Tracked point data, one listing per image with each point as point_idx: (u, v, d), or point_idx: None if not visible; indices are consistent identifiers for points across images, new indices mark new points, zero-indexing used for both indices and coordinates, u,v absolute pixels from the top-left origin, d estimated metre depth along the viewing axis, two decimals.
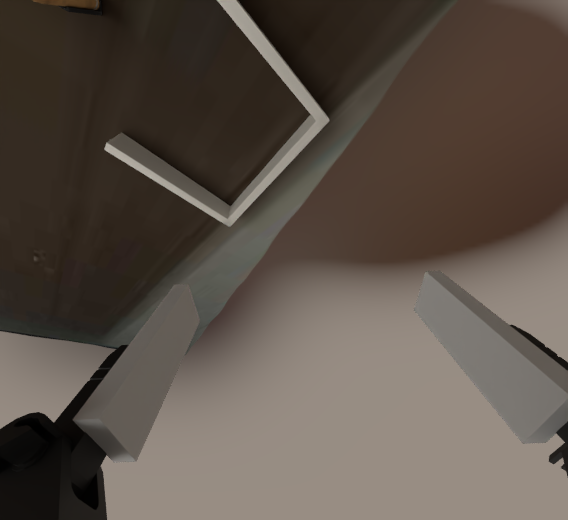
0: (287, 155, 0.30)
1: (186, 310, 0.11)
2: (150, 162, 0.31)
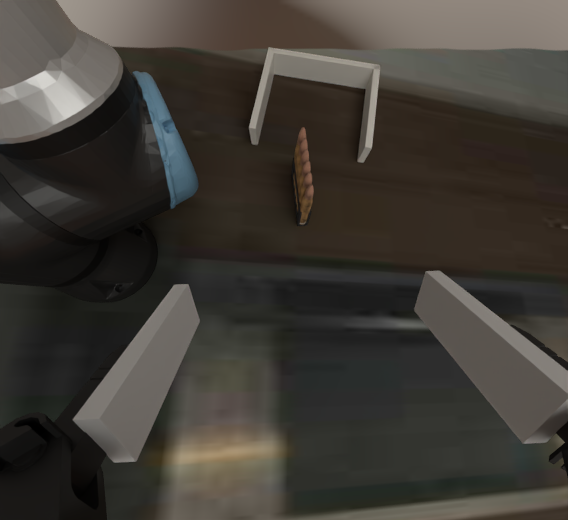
0: (300, 56, 0.42)
1: (186, 310, 0.11)
2: (364, 132, 0.41)
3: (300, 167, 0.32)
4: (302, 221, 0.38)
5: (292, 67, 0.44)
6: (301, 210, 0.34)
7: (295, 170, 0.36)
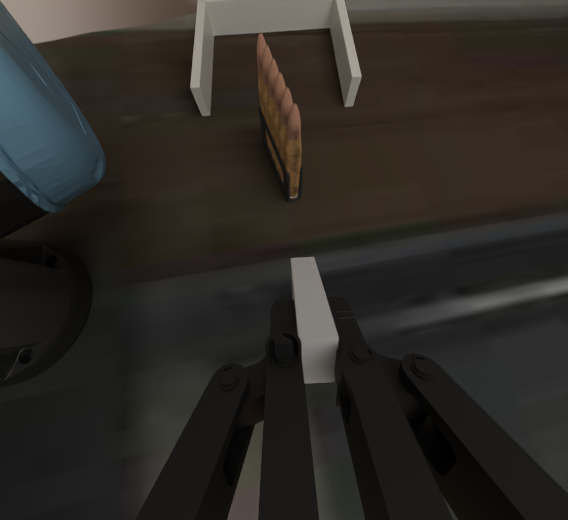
0: None
1: None
2: (344, 66, 0.31)
3: (271, 102, 0.21)
4: (293, 192, 0.26)
5: (234, 19, 0.35)
6: (288, 169, 0.22)
7: (265, 121, 0.25)
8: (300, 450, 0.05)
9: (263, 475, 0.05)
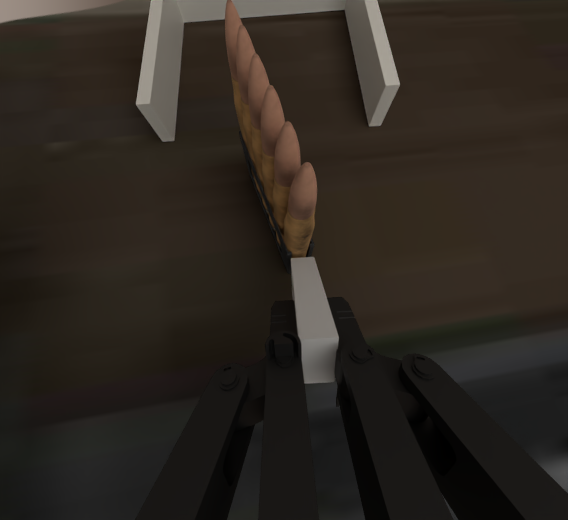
0: None
1: None
2: (369, 66, 0.21)
3: (256, 135, 0.11)
4: None
5: None
6: (289, 247, 0.13)
7: (250, 156, 0.15)
8: (300, 449, 0.05)
9: (263, 475, 0.05)
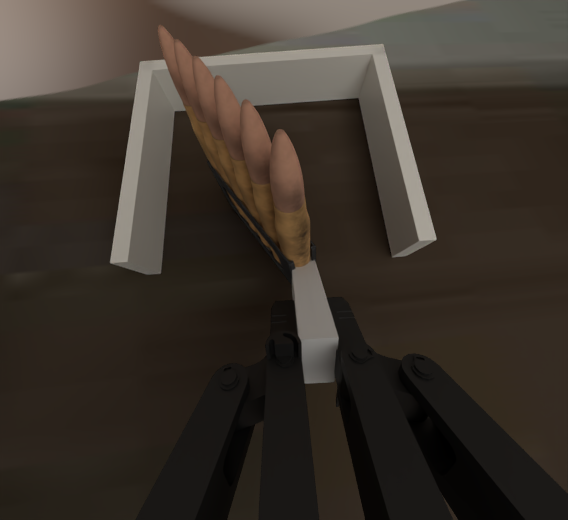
0: (211, 63, 0.19)
1: None
2: (393, 193, 0.17)
3: (221, 148, 0.10)
4: None
5: None
6: (289, 256, 0.11)
7: (223, 180, 0.14)
8: (300, 449, 0.05)
9: (263, 475, 0.05)
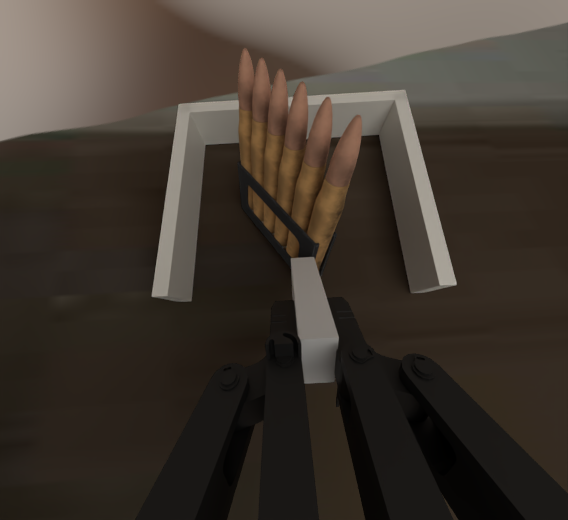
0: None
1: None
2: (414, 233, 0.18)
3: (272, 143, 0.13)
4: None
5: (234, 128, 0.23)
6: (317, 238, 0.13)
7: (254, 177, 0.16)
8: (300, 450, 0.05)
9: (263, 475, 0.05)
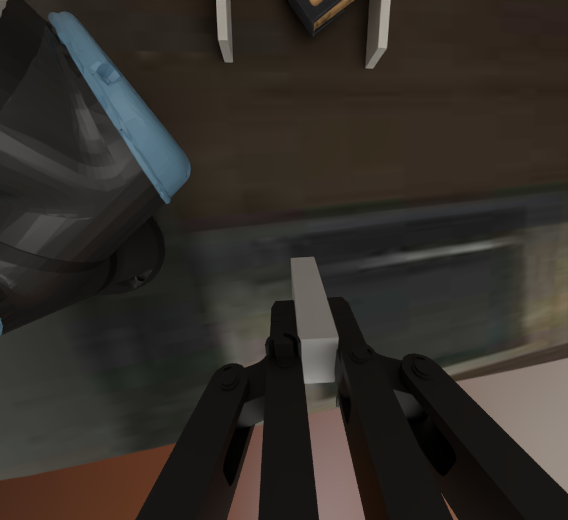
0: None
1: None
2: (375, 16, 0.30)
3: None
4: (323, 19, 0.28)
5: None
6: None
7: None
8: (300, 449, 0.05)
9: (263, 475, 0.05)
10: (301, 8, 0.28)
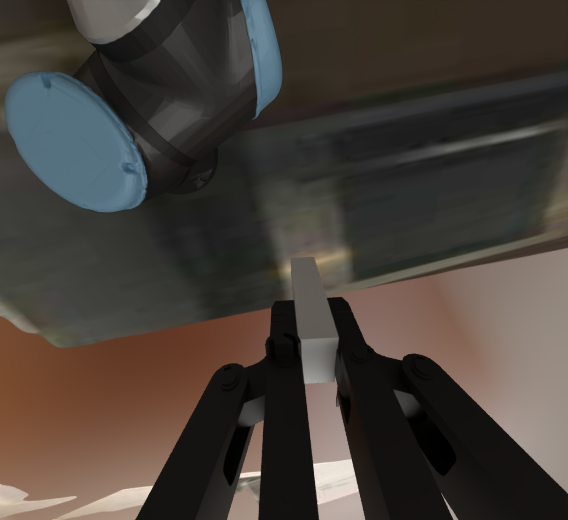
0: None
1: None
2: None
3: None
4: None
5: None
6: None
7: None
8: (300, 449, 0.05)
9: (263, 475, 0.05)
10: None
